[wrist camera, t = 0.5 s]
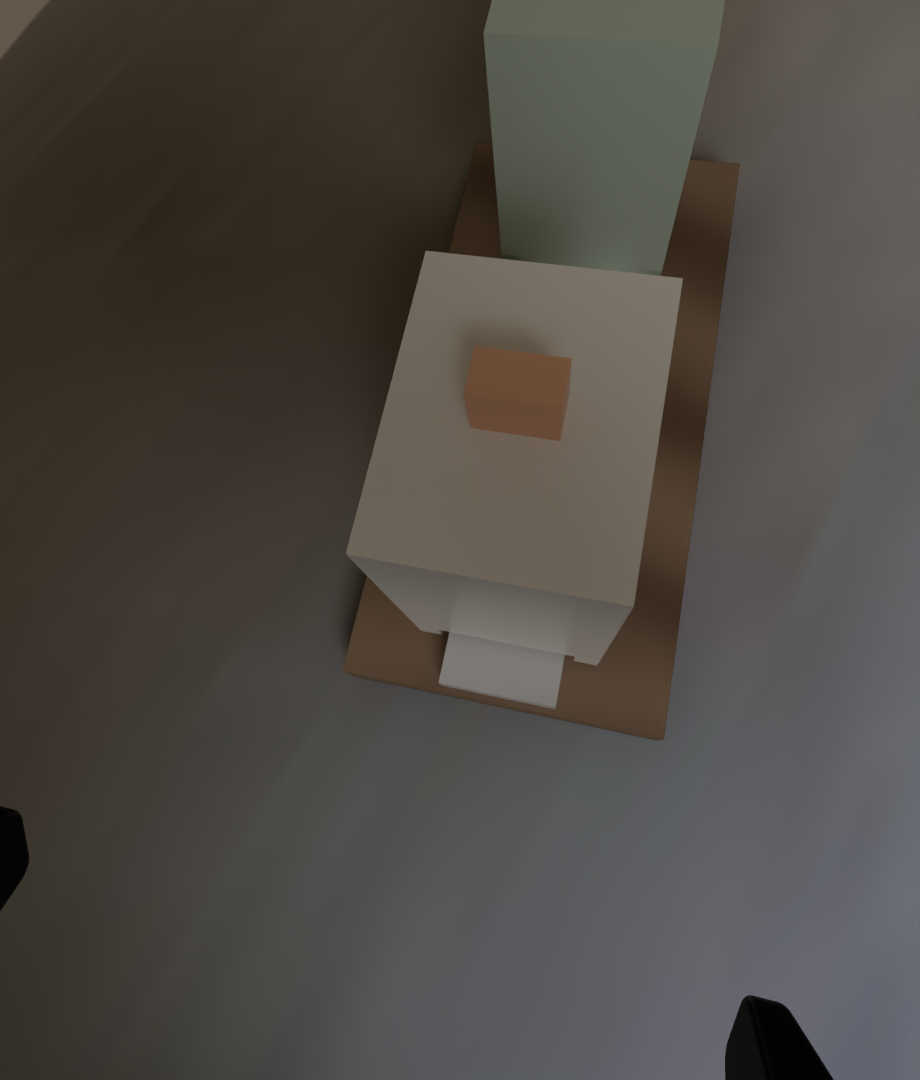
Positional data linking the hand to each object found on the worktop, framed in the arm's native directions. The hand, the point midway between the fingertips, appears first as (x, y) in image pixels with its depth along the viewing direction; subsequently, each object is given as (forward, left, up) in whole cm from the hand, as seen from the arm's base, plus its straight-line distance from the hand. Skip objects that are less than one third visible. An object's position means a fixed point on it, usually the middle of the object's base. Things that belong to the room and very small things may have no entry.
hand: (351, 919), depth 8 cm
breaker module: (+7, -5, -13) cm, 15 cm away
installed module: (+18, -11, -13) cm, 25 cm away
